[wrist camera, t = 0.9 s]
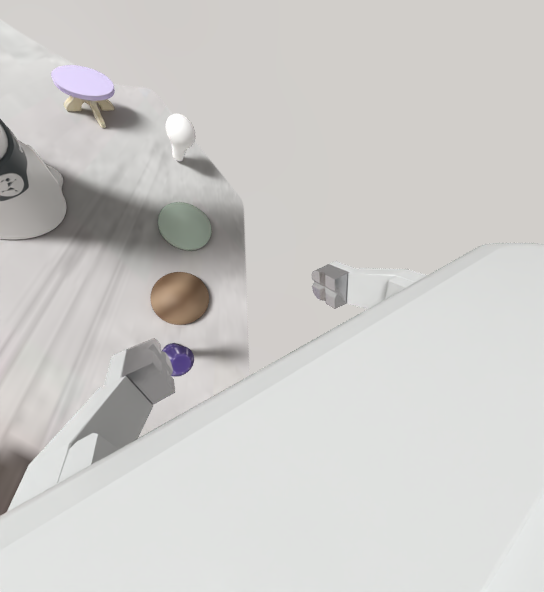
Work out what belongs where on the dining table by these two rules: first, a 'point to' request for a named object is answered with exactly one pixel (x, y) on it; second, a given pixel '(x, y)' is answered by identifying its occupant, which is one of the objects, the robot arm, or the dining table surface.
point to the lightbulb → (180, 135)
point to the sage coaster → (184, 226)
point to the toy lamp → (179, 358)
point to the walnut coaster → (179, 298)
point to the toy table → (84, 89)
